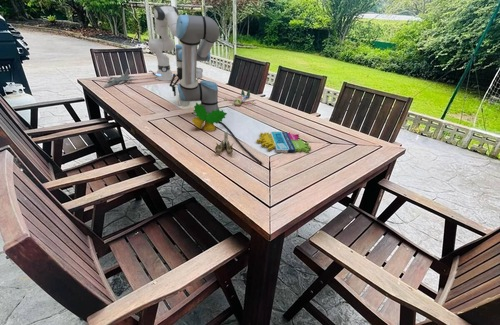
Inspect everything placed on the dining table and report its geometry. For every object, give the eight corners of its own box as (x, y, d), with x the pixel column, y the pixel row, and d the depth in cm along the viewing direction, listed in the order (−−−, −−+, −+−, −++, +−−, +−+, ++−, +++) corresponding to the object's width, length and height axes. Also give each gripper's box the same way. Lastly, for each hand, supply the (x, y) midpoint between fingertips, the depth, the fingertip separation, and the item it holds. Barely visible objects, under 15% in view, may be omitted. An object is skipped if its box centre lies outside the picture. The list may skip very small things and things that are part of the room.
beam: (186, 106, 201) (186, 95, 197) (179, 105, 201) (178, 95, 197) (195, 87, 252) (195, 78, 248) (189, 87, 252) (189, 78, 248)
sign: (313, 150, 142) (258, 149, 139) (312, 153, 143) (258, 152, 140) (301, 132, 164) (254, 130, 161) (301, 134, 165) (254, 133, 162)
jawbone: (234, 135, 144) (233, 125, 135) (233, 160, 138) (232, 151, 129) (217, 135, 144) (216, 125, 135) (216, 160, 138) (214, 150, 129)
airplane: (101, 79, 257) (98, 68, 252) (135, 77, 270) (133, 67, 265) (102, 89, 228) (99, 78, 223) (140, 87, 242) (138, 76, 237)
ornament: (218, 133, 171) (224, 110, 169) (221, 134, 163) (227, 111, 161) (186, 125, 162) (192, 101, 160) (189, 126, 155) (195, 101, 153)
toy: (261, 91, 228) (254, 99, 202) (261, 99, 231) (253, 108, 205) (231, 87, 233) (220, 95, 207) (230, 95, 236) (219, 104, 210)
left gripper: (203, 67, 241) (203, 82, 248) (180, 65, 239) (181, 81, 246) (202, 68, 236) (202, 83, 242) (179, 66, 234) (180, 82, 241)
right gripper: (199, 67, 197) (200, 95, 207) (165, 65, 195) (168, 94, 205) (198, 68, 190) (199, 97, 200) (163, 67, 188) (166, 96, 198)
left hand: (191, 82), depth 244 cm, fingers open, 8 cm apart
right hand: (183, 96), depth 203 cm, fingers open, 13 cm apart
